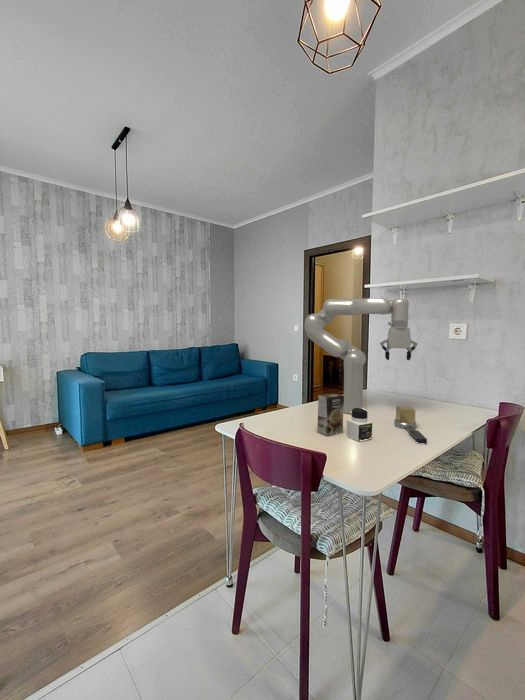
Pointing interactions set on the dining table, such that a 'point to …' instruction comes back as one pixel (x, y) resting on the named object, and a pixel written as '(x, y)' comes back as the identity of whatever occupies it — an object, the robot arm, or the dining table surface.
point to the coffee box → (330, 413)
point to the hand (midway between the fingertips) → (397, 359)
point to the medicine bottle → (359, 425)
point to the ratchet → (411, 431)
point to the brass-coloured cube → (405, 414)
